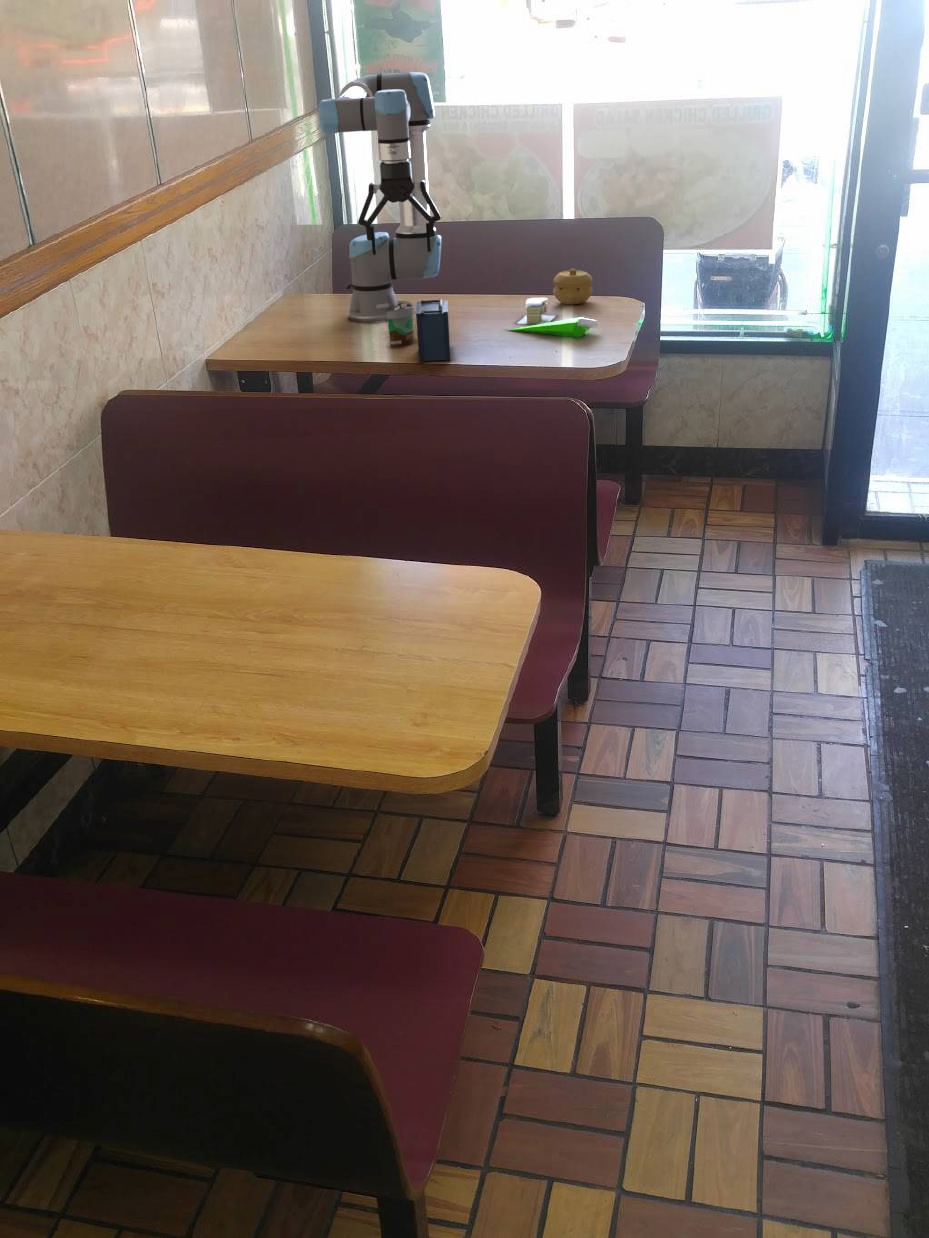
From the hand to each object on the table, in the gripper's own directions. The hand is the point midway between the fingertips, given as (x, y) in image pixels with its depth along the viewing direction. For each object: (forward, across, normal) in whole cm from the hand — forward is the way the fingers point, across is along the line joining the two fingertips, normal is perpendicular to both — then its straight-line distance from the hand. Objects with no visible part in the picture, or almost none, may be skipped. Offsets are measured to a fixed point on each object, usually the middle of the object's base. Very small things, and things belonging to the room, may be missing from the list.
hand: (401, 252), depth 281 cm
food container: (+27, -1, +16) cm, 32 cm away
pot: (+28, +48, +50) cm, 75 cm away
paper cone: (+27, +39, +14) cm, 50 cm away
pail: (+27, +7, +2) cm, 28 cm away
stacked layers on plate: (+27, +36, +33) cm, 56 cm away
